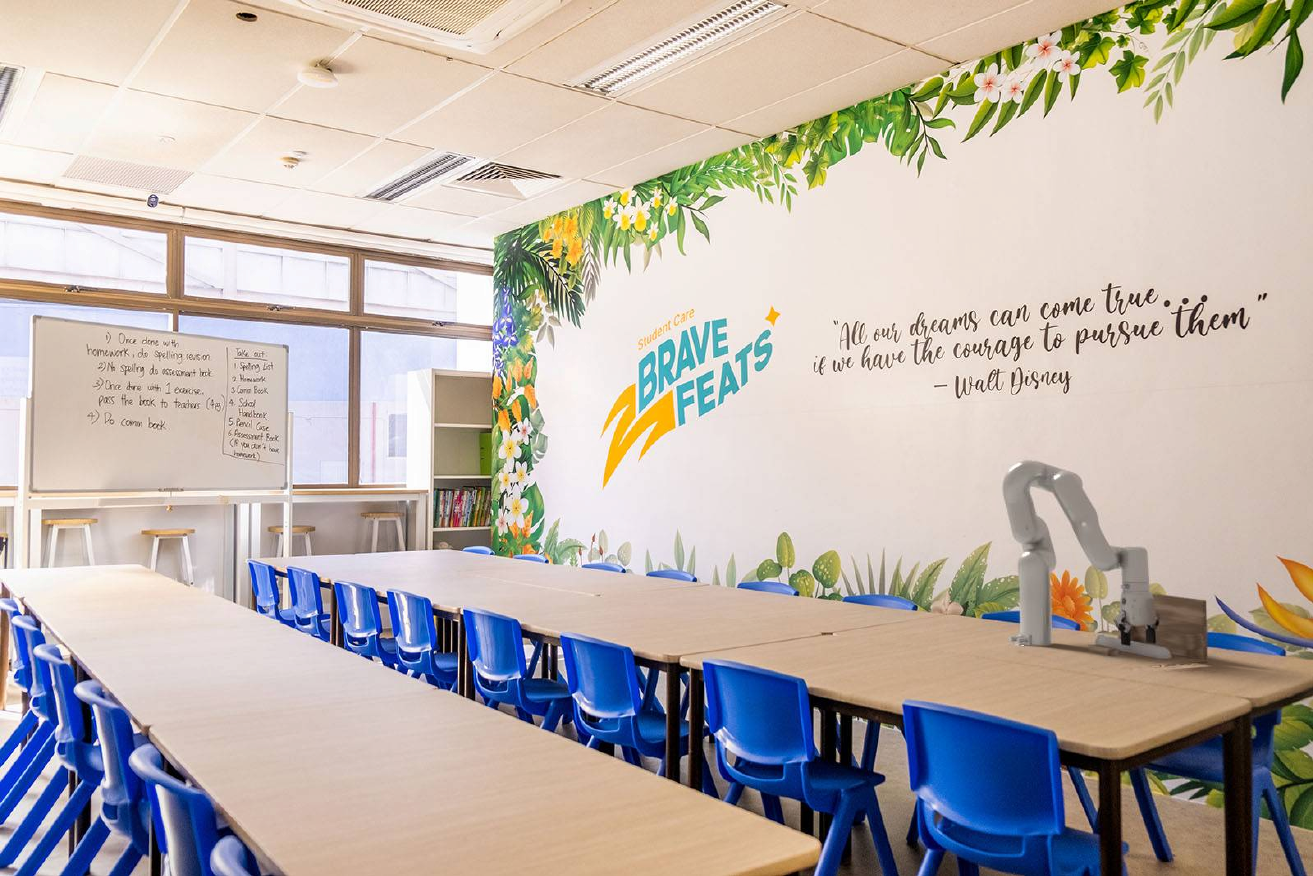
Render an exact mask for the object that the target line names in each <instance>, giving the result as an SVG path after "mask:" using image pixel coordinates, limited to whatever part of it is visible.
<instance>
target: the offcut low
mask: <svg viewBox="0 0 1313 876" xmlns="http://www.w3.org/2000/svg"><path fill="white" fill-rule="evenodd" d="M1089 653H1091V654H1095V655H1097V654H1096V653H1092V652H1089ZM1098 655H1099V656H1101V655H1100V654H1098ZM1102 656H1103V657H1106V656H1105V655H1102ZM1107 657H1109V658H1121V657H1122V658H1123V657H1125V655H1121V654H1119V656H1107Z"/></svg>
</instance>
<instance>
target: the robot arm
mask: <svg viewBox="0 0 1313 876" xmlns="http://www.w3.org/2000/svg"><path fill="white" fill-rule="evenodd" d="M1081 478H1082V477H1080V475H1078V474H1077V473H1075V472H1073V471H1070V470H1066V469H1062V468H1059V467H1055V466H1053V465H1051V464H1047V463H1044V462H1042V461H1037V460H1031V459H1030V460H1029V459H1026V460H1021V461H1018V462H1016V463H1015V464H1013V466H1011V467H1010V468H1009V469H1008V470H1007V472H1006V473H1005V475H1004V477H1003V481H1002V495H1003V499H1004V503H1005V508H1006V511H1007V512H1006V513H1007V516H1008V520H1009V524H1010V529H1011V534H1012V537H1013V538H1014V540H1015V541H1017V543H1019V544H1021V547H1022V550H1023V552H1022V553H1021V555H1020V556H1019V558H1018V560H1017V575H1018V584H1019V626H1020V627H1019V628H1020V629H1019V632H1017V634H1016V635H1009V636H1008V637H1007V641H1008V643H1015V644H1014V645H1015V647H1022V646H1029V647H1030V646H1035V647H1036V646H1039V647H1047V646H1052V645H1053V644H1055V643H1054V642H1053V628H1052V627H1053V626H1052V625H1053V624H1052V623H1053V622H1052V616H1053V615H1052V611H1053V610H1052V586H1051V573H1053V572H1054V570H1055V568H1056V566H1057V557H1056V552H1055V548H1054V545H1053V541H1052V537H1051V533H1050V530H1049V527H1048V525H1047V523H1046V522H1045V519H1043V518H1042V517H1040V516H1038V515H1037V512H1036V508H1035V505H1034V504H1035V503H1034V499H1033V497H1032V494H1031V492H1030V491H1031V490H1030V489H1031V487H1034V488H1036V489H1040V490H1043V491H1045V492H1049V493H1052V495H1053V496H1054V498H1055V499H1056V501H1057V502H1058V505H1059V506H1060V508H1061V510H1062V511H1063V512H1064V513H1063V514H1065V515H1064V516H1066V518H1067V520H1068V521H1069V523H1070V526H1071V528H1072V530H1073V533H1074V534H1075V537H1076V539H1077V541H1078V543H1079V545H1080V547H1081V548H1082V550H1083V552H1084V554H1085V556H1086V557H1087V559H1088V561H1089V562H1090V564H1091V565H1092V566H1093V568H1095V569H1096V570H1097V571H1100V572H1103V573H1104V572H1106V573H1107V572H1111V571H1114V570H1121V585H1120V589H1122V591H1121V593H1120V600H1119V613H1118V614H1116V616H1114V617H1113V622H1114V624H1115V627H1116V628H1117V631H1118V630H1119V631H1120V632H1121V644H1122V645H1126V646H1130V645H1131V639H1130V632H1128V631H1129V629H1130V628H1131V626H1144V625H1145V626H1146V627H1147V629H1146V642H1147V643H1153V644H1155V643H1156V634H1155V630H1157V626H1158V625H1159V621H1160V618H1161V615H1160V614H1158V613H1156V611H1155V604H1154V599H1153V595H1152V593H1153V592H1152V591H1151V590H1150V575H1149V571H1150V570H1149V555H1148V553H1149V552H1148V550H1147V548H1146V547H1143V546H1126V547H1122V546H1114V545H1110V544H1109V542H1108V540H1107V539H1106V537H1105V535H1104V533H1103V530H1102V529H1101V526H1100V523H1099V516H1098V513H1097V510H1096V508H1095V507H1094V505H1093V503H1092V502H1091V500H1090V498H1089V497H1088V494H1087V493H1086V492H1085V490H1084V488H1083V486H1084V485H1083V484H1084V483H1083V480H1082V479H1081ZM1121 623H1122V624H1121ZM1125 626H1126V627H1125Z"/></svg>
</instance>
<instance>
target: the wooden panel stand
mask: <svg viewBox="0 0 1313 876" xmlns="http://www.w3.org/2000/svg"><path fill="white" fill-rule="evenodd" d="M1152 595H1153V599H1154V604H1155V611H1156V613H1158V614H1160V615H1161V618H1160V621H1159V625H1158V626H1157V630H1155V634H1156V643H1155V644H1153V643H1147V642H1146V629H1147V627H1146V626H1145V625H1144V626H1131V628H1130V629H1129V631H1128V632H1130V639H1131V641H1134V642H1140V643H1145V644H1150V645H1155V646H1161V647H1166V648H1167V649H1168V650H1169V651H1170V653H1171V655H1177V656H1183V657H1186V658H1187V659H1197V660H1201V661H1207V660H1208V628H1207V627H1208V626H1207V625H1208V623H1207V622H1208V620H1207V617H1208V616H1207V615H1208V614H1207V600H1205V599H1197V598H1190V597H1182V596H1176V595H1168V594H1160V593H1153V592H1152ZM1121 624H1122V623H1121ZM1125 627H1126V626H1125ZM1117 638H1119V639H1121V632H1120V631H1119V630H1118V629H1117Z"/></svg>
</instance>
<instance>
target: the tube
mask: <svg viewBox="0 0 1313 876" xmlns="http://www.w3.org/2000/svg"><path fill="white" fill-rule="evenodd" d="M1098 644H1100V645H1104V646H1108V647H1113V648H1117V649H1119V652H1123V653H1129V654H1134V655H1138V656H1145V657H1147V658H1148V657H1149V658H1153V659H1154V658H1155V659H1161V660H1168V659H1172V654H1171V653H1170V651H1169V650H1168V649H1167V648H1166V647H1161V646H1155V645H1150V644H1145V643H1140V642H1134V641H1131V645H1130V646H1126V645H1122V644H1121V639H1119V638H1118V637H1114V636H1108V635H1105V634H1097V636H1096V638H1095V640H1094V645H1098Z"/></svg>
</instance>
